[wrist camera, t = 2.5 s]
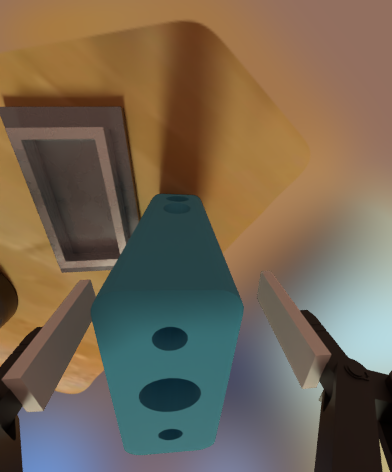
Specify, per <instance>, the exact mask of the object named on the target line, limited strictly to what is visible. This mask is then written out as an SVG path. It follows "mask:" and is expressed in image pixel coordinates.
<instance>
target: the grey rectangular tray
mask: <svg viewBox="0 0 392 472" xmlns="http://www.w3.org/2000/svg"><path fill="white" fill-rule="evenodd" d="M0 116H1V118H2V121H3V123H4V126H5V129H6V132H7V134H8V137H9V139H10V142H11V144H12V147H13V150H14V152H15V155H16V157H17V160H18V162H19V165H20V167H21V170H22V173H23V175H24V178H25V180H26V183H27V185H28V188H29V190H30V193H31V196H32V198H33V201H34V203H35V206H36V208H37V211H38V213H39V216H40V219H41V221H42V224H43V226H44V229H45V231H46V234H47V236H48V239H49V241H50V244H51V247H52V249H53V252H54V254H55V257H56V259H57V262H58V264H59V267H60V269H61V272H62V273H64V272H82V271H100V270H112V268H113V267H114V265H115V263H116V261H117V260H118V258H119V256H120V254H121V253H122V251H123V249H124V247H125V246H126V244H127V242H128V240H129V239H130V237H131V235H132V233H133V232H134V230H135V228H136V226H137V225H138V223H139V221H140V215H139V208H138V202H137V195H136V188H135V182H134V175H133V168H132V162H131V155H130V148H129V142H128V135H127V129H126V122H125V115H124V109H123V108H122V107H0Z"/></svg>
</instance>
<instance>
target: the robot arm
mask: <svg viewBox="0 0 392 472" xmlns="http://www.w3.org/2000/svg"><path fill="white" fill-rule="evenodd" d="M95 298H96V296H95V293H94V290H93V286H92V283H91V280H80V281H79V282H78V283H77V285H76V286H75V287H74V288H73V290H72V291H71V292H70V293H69V295H68V296H67V297H66V299H65V300H64V301H63V302H62V304H61V305H60V306H59V307H58V309H57V310H56V311H55V312H54V314H53V315H52V316H51V318H50V319H49V320H48V321H47V323H46V324H45V325H44V326H43V327H37V328H36V329H34V330H33V331H32V332H30V333H29V334H28V335H27V336H26V337H25V338H24V339H23V341H22V342H21V343H20V344H19V346H17V348H16V349H15V350H14V351H13V354H11V355H10V356H9V357H8V358H7V360H6V361H5V362H4V363H3V364H2V366H1V367H0V472H23V469H22V455H21V440H20V425H19V418H18V416H17V414H18V412H19V411H20V409H21V407H22V406H23V407H24V409H25V410H26V411H27V412H35V411H44V409H45V407H46V405H47V403H48V402H49V400H50V398H51V396H52V394H53V392H54V390H55V388H56V387H57V385H58V383H59V381H60V379H61V377H62V375H63V373H64V372H65V370H66V368H67V366H68V364H69V362H70V360H71V359H72V357H73V355H74V353H75V351H76V349H77V347H78V345H79V344H80V342H81V340H82V338H83V336H84V334H85V332H86V330H87V329H88V327H89V325H90V323H91V321H92V318H91V311H90V309H91V306H92V303H93V302H94V300H95ZM257 299H258V301H259V303H260V305H261V307H262V309H263V311H264V313H265V315H266V317H267V319H268V321H269V323H270V325H271V327H272V329H273V331H274V333H275V335H276V337H277V339H278V341H279V343H280V345H281V347H282V349H283V351H284V353H285V355H286V357H287V359H288V361H289V363H290V365H291V367H292V369H293V371H294V373H295V375H296V377H297V379H298V381H299V383H300V385H301V387H302V389H306V388H316V387H317V385H318V383H319V381H320V383H321V384H322V386H323V388H324V390H323V392H322V394H321V396H320V398H319V401H322V403H321V413H320V422H319V432H318V441H317V451H316V461H315V469H314V472H382V464H381V453H380V446H379V440H380V443H381V446H382V448H383V452H384V455H385V458H386V461H387V464H388V467H389V470H390V472H392V371H391V372H390V373H389V375H386V374H382V373H378V372H374V371H370V370H367V369H366V368H365V367H364V366H363V365H361V364H360V363H358V362H357V361H355V360H353V359H350V358H348V357H347V355H346V354H345V353H344V352H343V350H342V349H341V348H340V347H339V345H338V344H337V343H336V342H335V340H334V339H333V338H332V337H331V335H330V334H329V333H328V332H327V331H326V329H325V328H324V327H323V325H321V323H320V322H319V320H318V319H317V318H316V317H315V316H314V315H313V314H312V313H310V312H309V311H308V310H299V309H298V308H297V306H296V305H295V303H294V302H293V301H292V300H291V298H290V297H289V295H288V294H287V293H286V291H285V290H284V288H283V287H282V286H281V284H280V283H279V282H278V280H277V279H276V277H275V276H274V275H273V273H272V272H271V271H261V275H260V282H259V288H258V294H257ZM17 305H18V301H17V296H16V293H15V291H14V289H13V287H12V285H11V284H10V283H9V281H8V280H7V279H6V278H5V277H4V276H3V275H2V274H1V273H0V328H1V327H2V326H3V325H4V324H5V323H6V322H7V321H8V320H9V319H10V318H11V317H12V316H13V315H14V313H15V312H16V309H17Z"/></svg>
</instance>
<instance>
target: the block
mask: <svg viewBox="0 0 392 472" xmlns="http://www.w3.org/2000/svg"><path fill="white" fill-rule="evenodd" d="M243 309H244V306H243V303H242V301H241V298H240V296H239V293H238V291H237V288H236V286H235V283H234V281H233V278H232V276H231V274H230V271H229V268H228V266H227V263H226V261H225V258H224V256H223V254H222V251H221V249H220V246H219V244H218V241H217V239H216V236H215V234H214V231H213V229H212V226H211V224H210V221H209V219H208V216H207V214H206V211H205V209H204V207H203V204H202V202H201V200H200V198H199V197H197V196H195V195H180V194H157V195H155V196H154V197H153V199H152V200H151V202H150V204H149V205H148V207H147V209H146V211H145V212H144V214H143V216H142V218H141V219H140V221H139V223H138V225H137V226H136V228H135V230H134V232H133V233H132V235H131V237H130V239H129V240H128V242H127V244H126V246H125V247H124V249H123V251H122V253H121V254H120V256H119V258H118V260H117V261H116V263H115V265H114V267H113V268H112V270H111V272H110V274H109V275H108V277H107V279H106V281H105V282H104V284H103V286H102V288H101V289H100V291H99V293H98V295H97V296H96V298H95V300H94V302H93V303H92V306H91V309H90V311H91V318H92V322H93V326H94V330H95V334H96V338H97V342H98V346H99V350H100V354H101V358H102V362H103V366H104V370H105V374H106V378H107V382H108V386H109V390H110V394H111V398H112V402H113V406H114V410H115V414H116V418H117V422H118V426H119V430H120V434H121V438H122V442H123V446H124V449H125V451H126V452H128V453H130V454H134V455H147V454H159V453H169V452H181V451H192V450H201V449H204V448H207V447H209V446H211V445H212V444H214V442H215V438H216V433H217V429H218V425H219V420H220V416H221V411H222V407H223V402H224V397H225V393H226V388H227V384H228V379H229V375H230V370H231V366H232V361H233V357H234V352H235V348H236V343H237V339H238V334H239V330H240V325H241V321H242V316H243Z"/></svg>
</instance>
